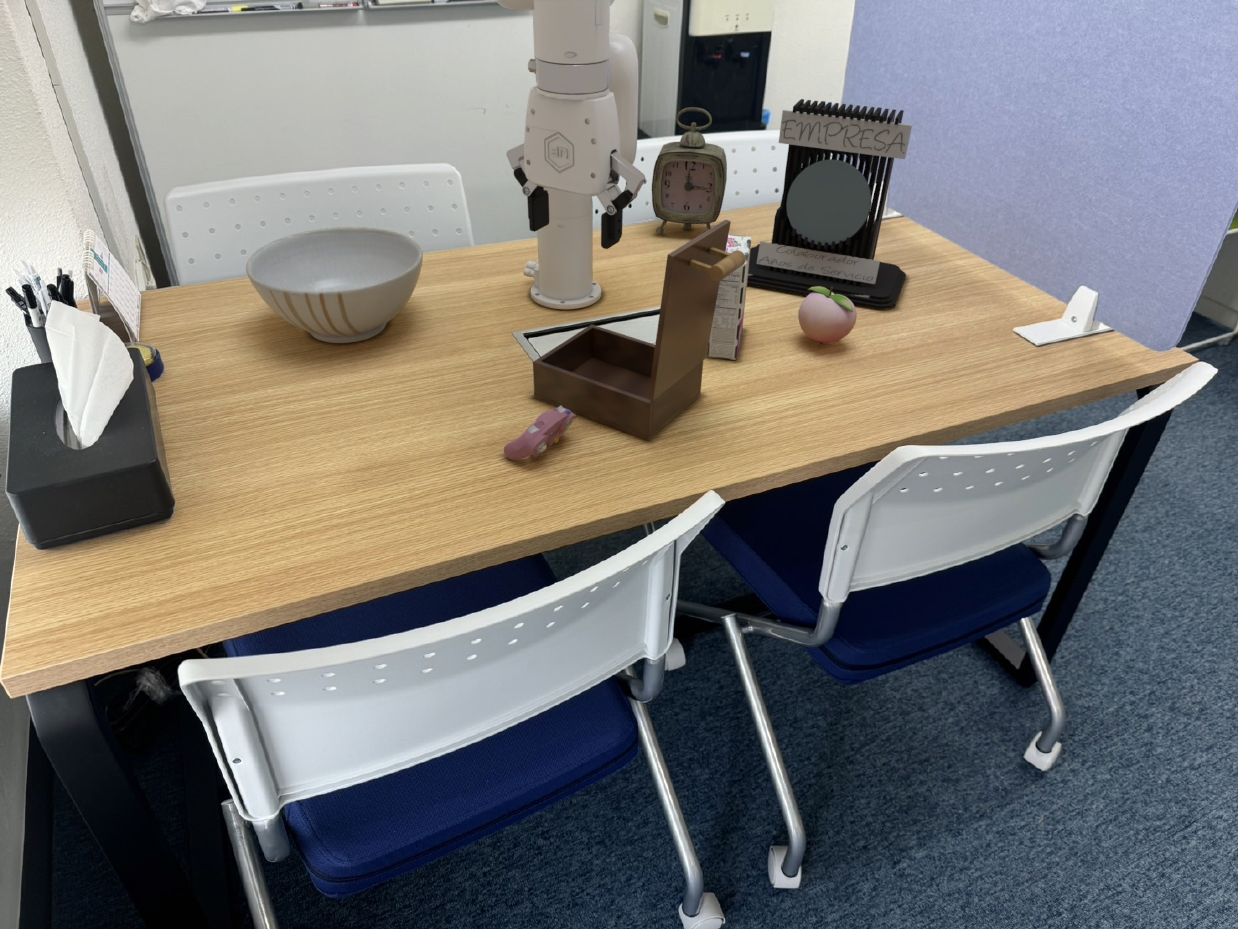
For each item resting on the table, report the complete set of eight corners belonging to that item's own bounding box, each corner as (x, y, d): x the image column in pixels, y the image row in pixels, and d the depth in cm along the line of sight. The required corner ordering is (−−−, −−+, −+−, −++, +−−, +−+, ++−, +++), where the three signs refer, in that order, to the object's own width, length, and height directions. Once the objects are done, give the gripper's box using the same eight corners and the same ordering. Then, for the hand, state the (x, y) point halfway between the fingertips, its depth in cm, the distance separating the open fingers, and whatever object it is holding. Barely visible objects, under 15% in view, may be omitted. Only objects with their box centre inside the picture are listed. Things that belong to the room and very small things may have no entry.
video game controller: (523, 477, 112) (541, 445, 107) (498, 454, 113) (514, 421, 108) (568, 442, 119) (586, 411, 114) (543, 420, 120) (561, 388, 115)
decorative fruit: (782, 343, 141) (790, 286, 135) (810, 327, 146) (819, 271, 140) (832, 363, 136) (843, 304, 130) (858, 345, 141) (870, 288, 135)
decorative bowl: (303, 383, 128) (286, 308, 121) (238, 319, 144) (220, 250, 137) (460, 333, 142) (453, 263, 135) (384, 280, 159) (375, 215, 152)
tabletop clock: (649, 237, 179) (654, 110, 164) (655, 222, 186) (660, 99, 171) (719, 243, 177) (731, 115, 162) (722, 227, 184) (733, 103, 170)
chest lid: (667, 254, 101) (709, 269, 99) (725, 219, 111) (764, 232, 109) (647, 399, 114) (684, 415, 111) (701, 356, 124) (736, 370, 121)
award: (726, 282, 161) (742, 113, 143) (752, 248, 175) (771, 90, 157) (892, 312, 151) (932, 136, 134) (907, 273, 166) (944, 109, 148)
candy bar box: (713, 327, 146) (721, 232, 136) (742, 330, 145) (753, 235, 135) (705, 358, 137) (713, 259, 127) (736, 361, 136) (747, 262, 126)
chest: (534, 398, 126) (532, 361, 122) (591, 358, 136) (591, 324, 132) (648, 441, 117) (650, 403, 114) (700, 395, 127) (703, 359, 124)
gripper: (483, 72, 90) (494, 231, 100) (627, 95, 83) (623, 263, 93) (525, 60, 95) (531, 212, 105) (663, 81, 89) (656, 241, 99)
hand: (574, 236), depth 99 cm, fingers open, 9 cm apart
